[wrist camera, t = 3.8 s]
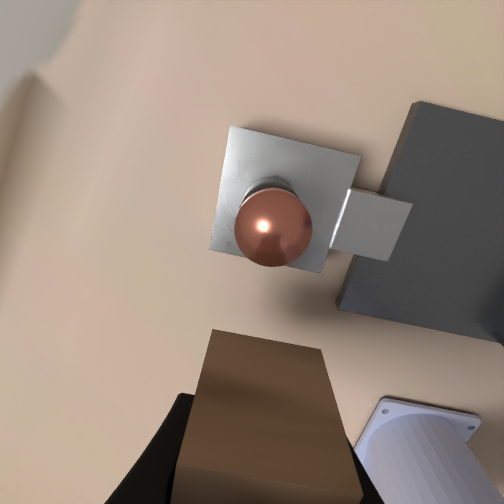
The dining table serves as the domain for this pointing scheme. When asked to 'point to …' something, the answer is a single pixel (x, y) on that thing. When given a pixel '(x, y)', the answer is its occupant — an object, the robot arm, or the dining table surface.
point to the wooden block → (264, 429)
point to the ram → (299, 204)
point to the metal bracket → (441, 229)
